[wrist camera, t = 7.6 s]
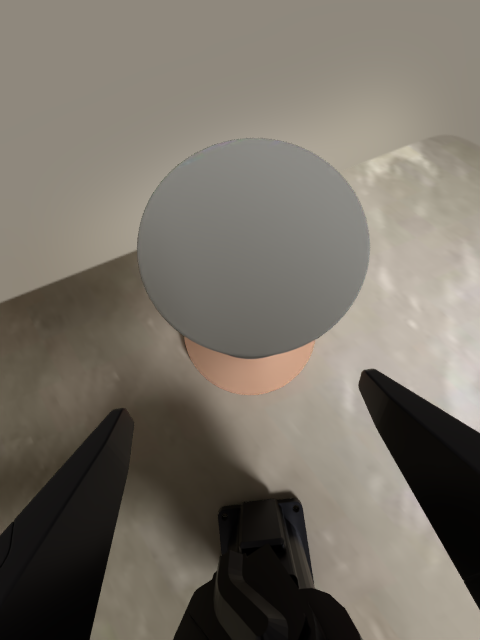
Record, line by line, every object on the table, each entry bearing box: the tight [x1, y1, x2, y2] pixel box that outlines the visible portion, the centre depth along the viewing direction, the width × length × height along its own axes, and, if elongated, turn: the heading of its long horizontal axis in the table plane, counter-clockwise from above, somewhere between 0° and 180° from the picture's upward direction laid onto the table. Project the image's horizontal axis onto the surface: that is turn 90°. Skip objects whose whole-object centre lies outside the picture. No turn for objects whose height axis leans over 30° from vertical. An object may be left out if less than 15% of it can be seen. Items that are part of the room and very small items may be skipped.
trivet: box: [184, 336, 315, 395], centre depth 20 cm, size 11×11×1 cm
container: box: [137, 138, 370, 359], centre depth 12 cm, size 5×5×15 cm
